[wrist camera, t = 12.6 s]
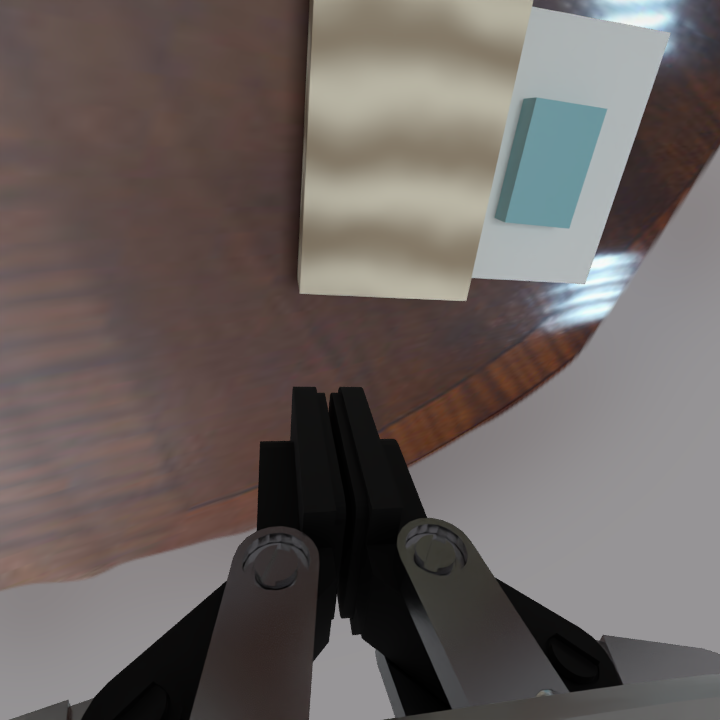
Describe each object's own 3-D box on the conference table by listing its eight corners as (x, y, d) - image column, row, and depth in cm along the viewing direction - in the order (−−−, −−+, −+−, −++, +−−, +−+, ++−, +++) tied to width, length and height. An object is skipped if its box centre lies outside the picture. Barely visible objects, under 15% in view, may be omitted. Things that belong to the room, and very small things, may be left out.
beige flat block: (311, -54, 29) (317, -77, 26) (510, -14, 32) (540, -31, 28) (297, 278, 39) (299, 293, 35) (450, 285, 42) (466, 301, 38)
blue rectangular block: (607, 108, 34) (591, 109, 36) (536, 97, 33) (523, 98, 35) (569, 228, 38) (556, 224, 40) (504, 222, 37) (494, 217, 39)
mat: (513, 4, 32) (516, 3, 32) (666, 33, 35) (670, 32, 35) (457, 275, 41) (458, 277, 41) (582, 282, 44) (584, 283, 44)
